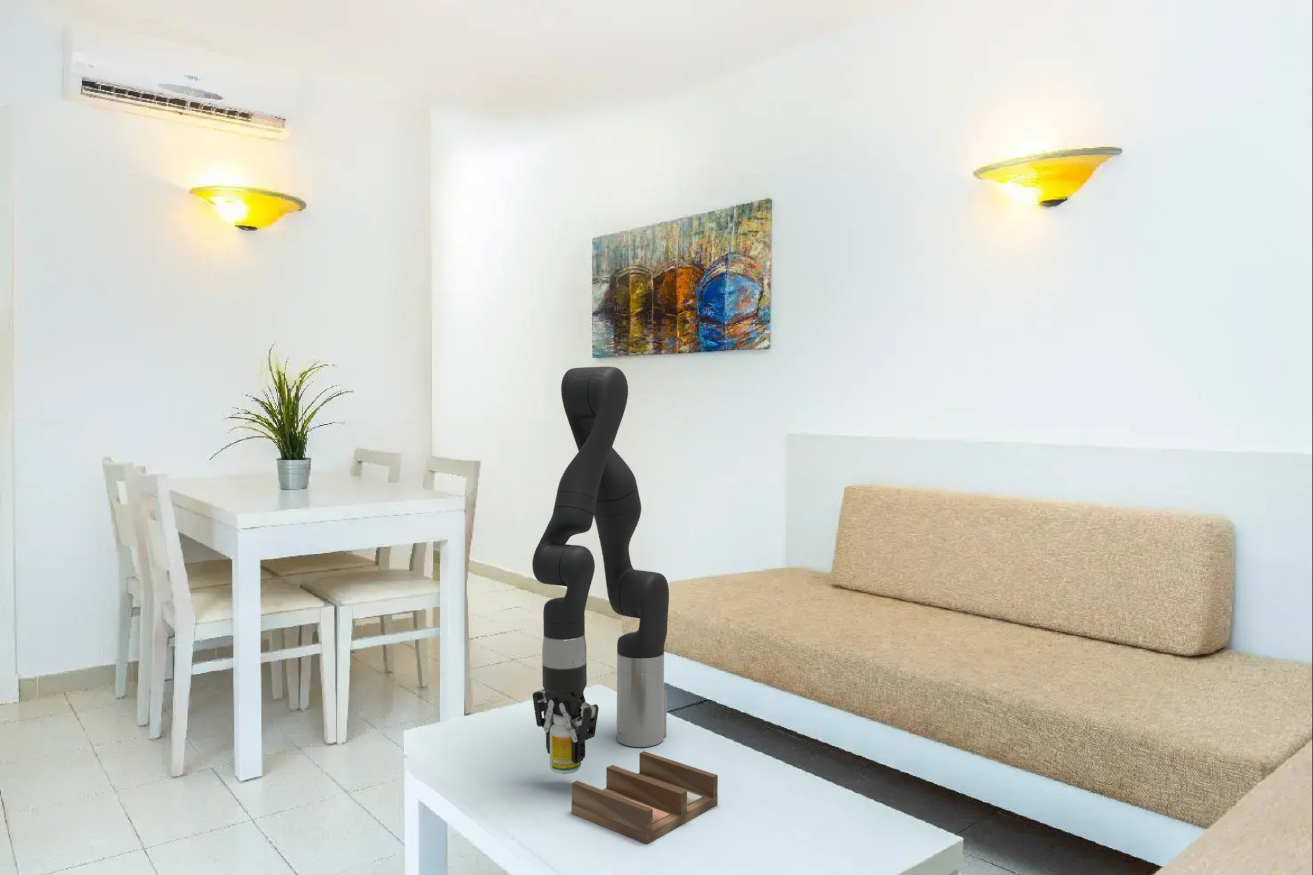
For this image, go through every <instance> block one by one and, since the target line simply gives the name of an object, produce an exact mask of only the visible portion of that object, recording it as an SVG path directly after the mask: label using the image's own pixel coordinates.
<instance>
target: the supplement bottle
mask: <svg viewBox="0 0 1313 875" xmlns="http://www.w3.org/2000/svg"><path fill="white" fill-rule="evenodd" d="M553 721H554V723H555V724H553V725H552V726H551V728H550V754H549V768H550V770H551V771H552V772H554V773H556V774H561V775H569V774H574V773H576V772H578V771H579V770H580V769H581V768H582V761H581V762H579V763H574V762H572V741H573V740H572V737H571V733H570V730H569V729H567V727H566V724H565V720H564V717H563V716H560V715H557V714H554V720H553ZM576 721H577V718H576V719H574V720H572V722H573V723H574V722H576ZM576 729H577V733H579V729H578V727H576Z"/></svg>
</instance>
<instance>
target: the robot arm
mask: <svg viewBox="0 0 1313 875" xmlns="http://www.w3.org/2000/svg"><path fill="white" fill-rule="evenodd" d="M560 387H561V388H560V392H561V400H562V406H563V409H564V412H565V415H566V418H567V421H568V424H569V427H570V430H571V433H572V435H573V438H574V442H575V445H576V447H577V451H578V452H577V453H576V455H575V456H574V457H573V459H572V460H571V461H570V462H569V464H568V465H567V467H566V468H565V470H564V472H563V473H562V475H561V478H560V480H559V482H558V487H557V490H556V496H555V500H554V506H553V510H552V514H551V518H550V520H549V522H548V524H547V526H546V528H545V530H544V532H543V534H542V536H541V538H540V540H539V541H538V544H537V547H536V548H535V551H534V554H533V557H532V564H531V565H532V572H533V575H534V577H535V579H536V580H537V581H538V582H539V583H541V584H543V585H544V584H545V585H551V586H560V587H566V592H565V595H564V596H562V597H555V598H552V599H551V598H550V599H549V600H548V601H546V603H545V604H544V606H543V613H542V614H543V615H542V616H543V617H542V620H543V639H542V646H541V648H542V650H541V653H542V654H541V656H542V658H541V659H542V664H541V666H542V668H541V669H542V672H541V673H542V676H541V677H542V687H543V688H542V689H540V690H537V691H535V692H532V701H533V708H534V715H535V721H536V725H537V727H538V728H543V731H544V732H545V747H546V752H547V755H548V754H549V755H550V728H551V726H552V725H553V724H555V723H554V721H553V720H554V714H557V715H560V716H563V717H564V720H565V724H566V727H567V729H569V730H570V733H571V737H572V740H573V741H572V762H574V763H579V762H581V763H582V761H584V759H585V758H586V741H587V740H590V739H592V738H595V735H596V729H597V724H598V723H597V722H598V717H599V716H598V715H599V705H598V704H589V703H588V702H587V701H586V698H585V694H584V692H585V689H586V688H587V684H588V683H587V682H588V680H587V678H588V677H587V675H588V673H587V670H588V669H587V641H586V632H585V631H586V630H585V629H586V628H585V622H586V620H585V619H586V617H585V611H586V606H587V603H588V602H587V601H588V597H589V593H590V588H591V585H592V582H593V579H594V574H595V570H596V568H595V567H596V566H595V564H596V563H595V559H594V556H593V552H592V551H591V550H590V549H589V548H588V547H587V546H584V545H577V544H567V542H568V541H569V540H570V538H571V537H572V536H576V535H580V534H585V533H586V532H589V531H590V530H591V528H592V526H593V521H595V525H596V530H597V534H598V538H599V543H600V544H599V545H600V548H601V554H602V559H603V560H602V561H603V569H604V577H605V585H606V591H607V597H608V602H609V604H610V606H611V609H612V610H613V611H614V613H616V614H617V615H620V616H622V617H628V618H634V619H639V626H638V630H636V631H633V632H632V631H631V632H629V633H625V634H623V635H621V636H620V637H618V639H617V645H616V656H617V657H616V741H617V742H618V743H620V744H621V745H624V746H628V747H632V748H633V747H634V748H647V747H652V746H657V745H658V744H660V743H662V742H663V741H664V738H665V737H667V726H668V725H667V723H668V722H667V719H668V718H667V716H668V714H667V712H668V710H667V705H668V704H667V703H668V702H667V701H668V699H667V698H668V696H667V695H668V692H667V690H668V689H667V688H665V644H666V640H667V636H668V619H669V618H668V617H669V605H670V590H669V584H668V580H667V578H666V577H665V575H664V574H662V573H660V572H656V571H648V570H642V569H641V570H640V569H635V568H634V567H633V565H632V562H631V561H632V560H631V557H630V543H631V540H632V537H633V535H634V533H635V530H636V528H637V526H638V524H639V521H640V519H641V515H642V503H641V498H640V493H639V492H640V491H639V488H638V484H637V479H636V476H635V475H634V473H633V470H631V467H630V466H629V465H628V464H627V462H626V461H625V460H624V458H623V457H622V456H621V455H620V454H619V453H618V452H617V451H616V450H615V449H614V447H613V445H614V443H615V440H616V437H617V434H618V431H619V428H620V426H621V423H622V420H623V417H624V414H625V410H626V407H627V404H628V398H629V385H628V380H627V377H626V376H625V374H624V372H623V371H622V370H621V369H620V368H619V367H615V366H590V367H589V366H583V367H572V368H570V369H568V370H567V371H566V372H565V373H564V375H563V377H562V380H561V385H560ZM576 718H577V721H576V722H574V723H573V722H572V720H574V719H576ZM576 727H578V729H579V733H577V729H576Z"/></svg>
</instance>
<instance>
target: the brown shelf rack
mask: <svg viewBox="0 0 1313 875" xmlns="http://www.w3.org/2000/svg"><path fill="white" fill-rule="evenodd" d="M638 760H639V767H638V770H639V772H638V773H637V772H635V771H631V770H628V769H626V768H622V767H620V766H617V765H613V764H612V765H609V766H607V767H606V771H605V773H606V776H605V777H606V782H605V783H606V784H605V786H606V788H603V789H601V788H598V787H596V786H594V785H593V786H592V785H590V784H587V783H585V782H583V781H579V780H575V781H572V782H571V805H570V806H571V810H570V811H571V812H570V813H571V815H575V816H577V817H580V818H582V819H584V820H587V821H590V822H591V823H594V824H597V825H599V826H602V827H604V828H606V829H609V830H611V831H614V832H616V833H619V834H622V835H624V836H626V837H629V838H631V839H633V840H635V841H637V842H638V841H639V842H641V843H643V844H645V845H648V844H650V843H652V842H654V841H655V840H657V839H658V838H661V837H662V836H664V835H666V834H668V833H670V832H672V831H673V830H675V829H676V828H678V827H680V826H683V825H684V824H686V823H687V822H689V821H691V820H694V819H695V818H697V817H698V816H700V815H702V814H704V813H706V812H707V811H709V810H711V809H713V808H715V807H716V806H717V805H719V804H718V801H719V800H718V798H719V797H718V793H719V792H718V784H719V783H718V781H719V779H718V778H719V777H718V774H715V773H712V772H710V771H706V770H703V769H701V768H696V767H694V766H690V765H688V764H685V763H682V762H679V761H675V760H673V759H669V758H667V757H664V756H660V755H657V754H653V753H651V752H648V751H645V750H644V751H641V752H639V759H638Z"/></svg>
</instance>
